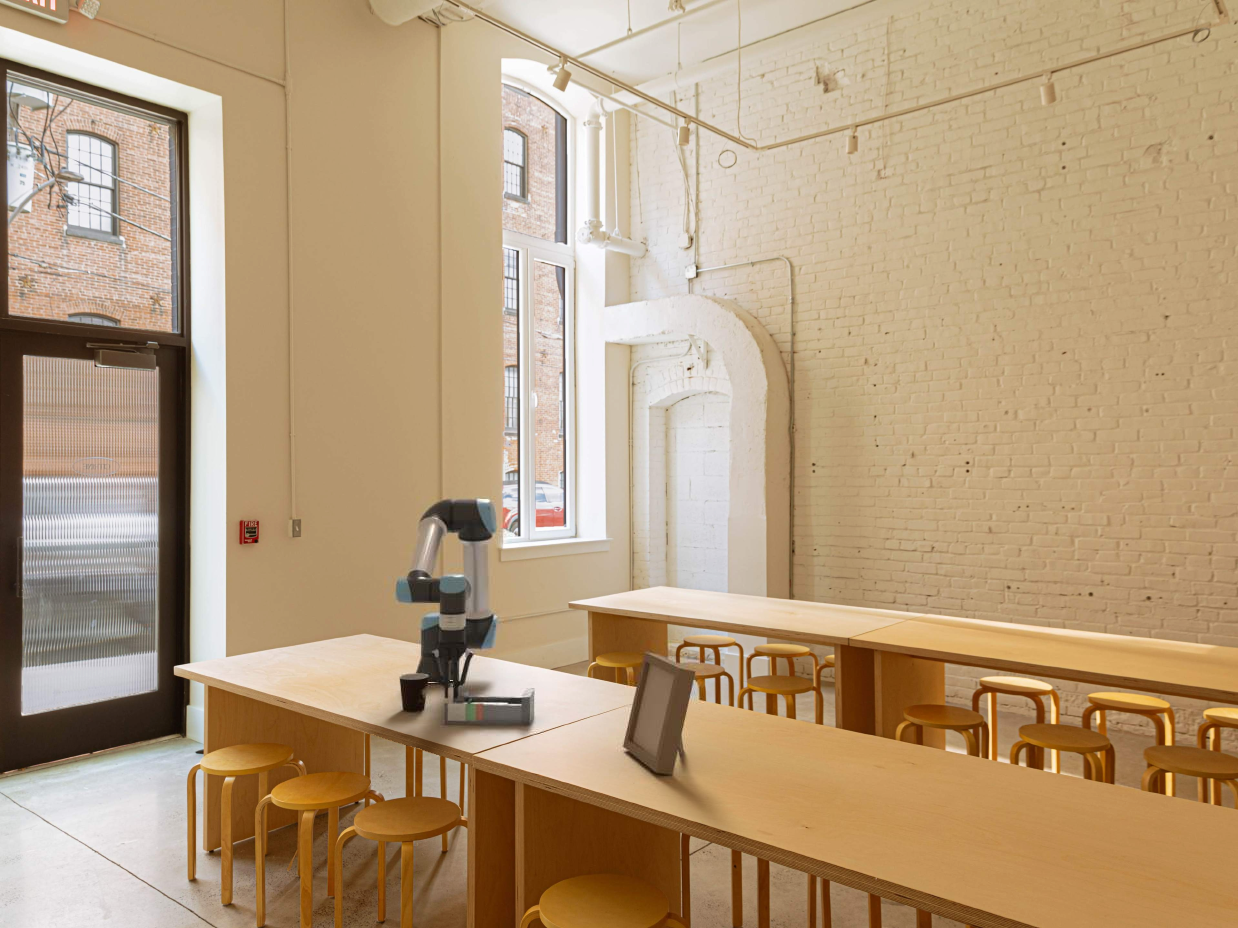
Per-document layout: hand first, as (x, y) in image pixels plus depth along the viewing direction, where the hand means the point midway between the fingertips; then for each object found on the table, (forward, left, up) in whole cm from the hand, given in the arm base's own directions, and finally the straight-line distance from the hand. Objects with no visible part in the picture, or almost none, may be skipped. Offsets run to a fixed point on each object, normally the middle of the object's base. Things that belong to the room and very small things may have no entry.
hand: (451, 709), depth 250 cm
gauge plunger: (+2, +9, -2) cm, 9 cm away
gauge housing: (0, +11, -3) cm, 12 cm away
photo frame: (+35, +61, -3) cm, 70 cm away
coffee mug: (-12, -13, -3) cm, 18 cm away
